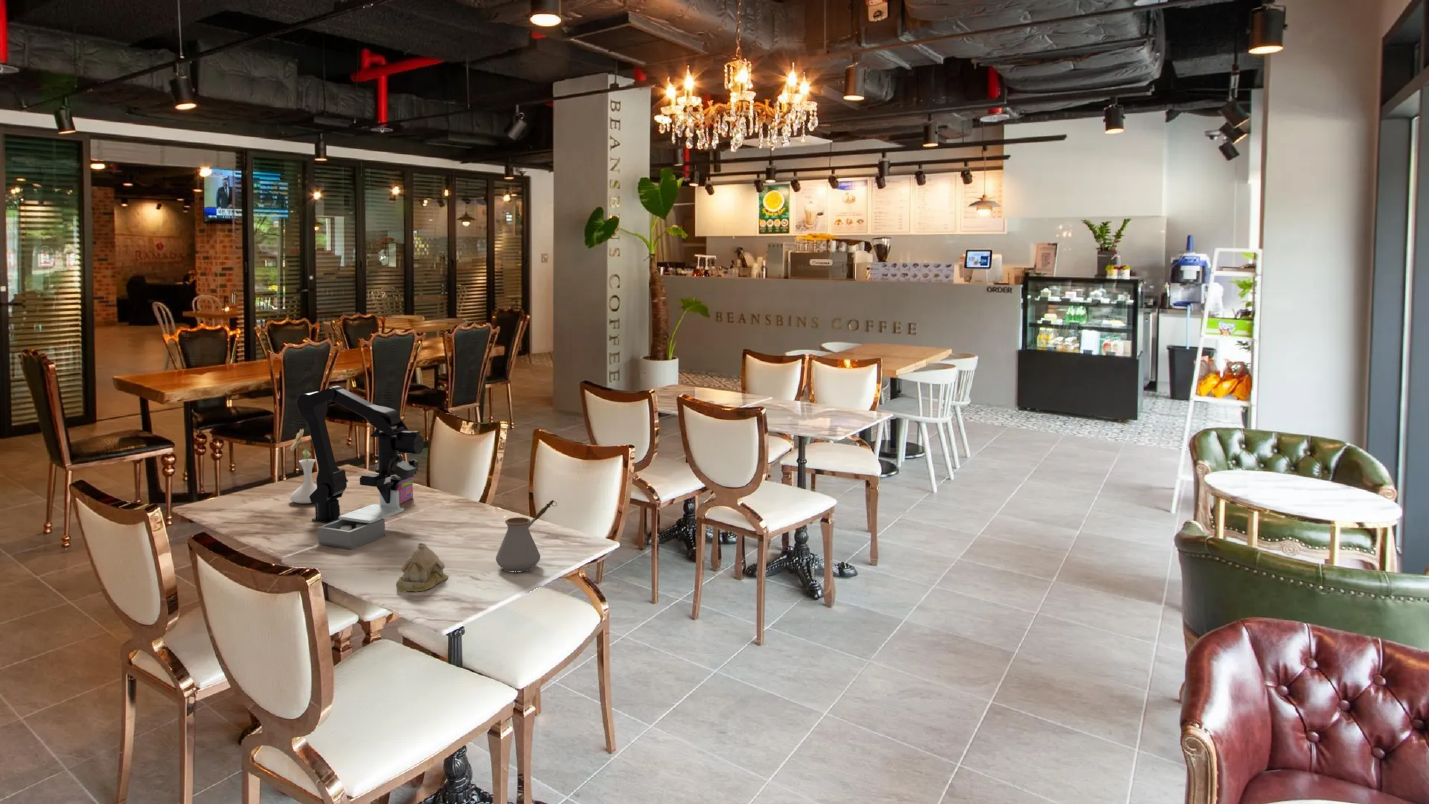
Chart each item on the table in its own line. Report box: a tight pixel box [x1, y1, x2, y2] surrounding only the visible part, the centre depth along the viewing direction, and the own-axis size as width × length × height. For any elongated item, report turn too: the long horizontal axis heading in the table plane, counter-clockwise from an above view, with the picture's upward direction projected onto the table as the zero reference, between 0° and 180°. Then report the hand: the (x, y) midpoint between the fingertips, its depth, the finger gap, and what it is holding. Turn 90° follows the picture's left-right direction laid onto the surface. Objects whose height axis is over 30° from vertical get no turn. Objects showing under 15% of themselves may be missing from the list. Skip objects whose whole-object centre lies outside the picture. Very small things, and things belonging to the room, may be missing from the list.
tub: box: [317, 518, 386, 550], centre depth 250 cm, size 11×14×5 cm
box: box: [385, 475, 414, 505], centre depth 291 cm, size 10×6×12 cm, turn 168°
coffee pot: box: [495, 499, 558, 573], centre depth 234 cm, size 21×12×15 cm, turn 153°
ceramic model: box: [395, 543, 449, 592], centre depth 218 cm, size 14×11×10 cm
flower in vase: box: [289, 428, 317, 504], centre depth 286 cm, size 13×11×25 cm
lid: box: [338, 490, 405, 523], centre depth 257 cm, size 11×16×6 cm
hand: (389, 502), depth 264 cm, fingers closed on lid
